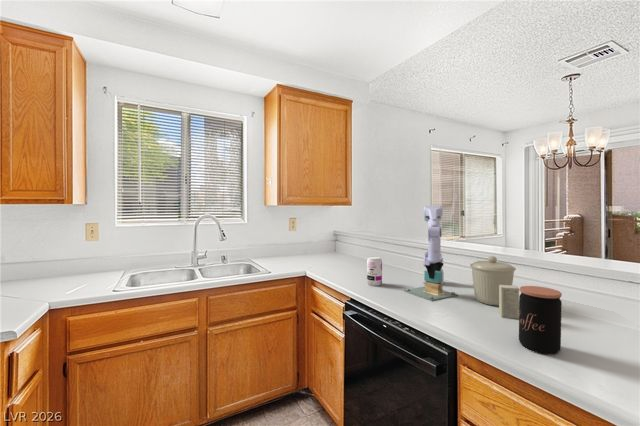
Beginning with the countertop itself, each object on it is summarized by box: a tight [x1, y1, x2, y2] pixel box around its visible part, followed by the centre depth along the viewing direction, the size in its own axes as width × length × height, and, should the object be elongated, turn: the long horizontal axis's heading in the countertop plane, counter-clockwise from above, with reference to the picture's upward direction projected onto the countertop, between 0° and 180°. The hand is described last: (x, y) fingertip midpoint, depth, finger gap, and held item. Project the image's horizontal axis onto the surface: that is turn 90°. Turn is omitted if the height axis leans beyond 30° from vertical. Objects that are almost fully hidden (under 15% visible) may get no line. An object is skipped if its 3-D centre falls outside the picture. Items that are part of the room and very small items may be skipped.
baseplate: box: [403, 285, 459, 302], centre depth 152 cm, size 18×18×1 cm
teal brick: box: [423, 269, 442, 283], centre depth 152 cm, size 4×7×5 cm, turn 41°
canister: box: [469, 255, 517, 307], centre depth 138 cm, size 18×18×21 cm
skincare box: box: [498, 284, 520, 320], centre depth 121 cm, size 6×4×12 cm
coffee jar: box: [518, 285, 563, 355], centre depth 95 cm, size 11×11×18 cm
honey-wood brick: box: [424, 281, 444, 294], centre depth 152 cm, size 4×7×5 cm, turn 42°
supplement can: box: [366, 256, 383, 287], centre depth 169 cm, size 8×8×15 cm
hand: (434, 277), depth 152 cm, fingers closed on teal brick, 4 cm apart
